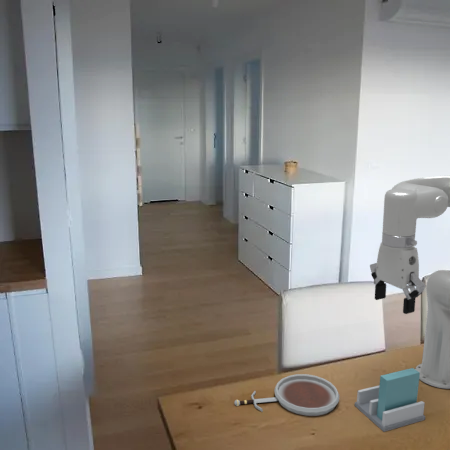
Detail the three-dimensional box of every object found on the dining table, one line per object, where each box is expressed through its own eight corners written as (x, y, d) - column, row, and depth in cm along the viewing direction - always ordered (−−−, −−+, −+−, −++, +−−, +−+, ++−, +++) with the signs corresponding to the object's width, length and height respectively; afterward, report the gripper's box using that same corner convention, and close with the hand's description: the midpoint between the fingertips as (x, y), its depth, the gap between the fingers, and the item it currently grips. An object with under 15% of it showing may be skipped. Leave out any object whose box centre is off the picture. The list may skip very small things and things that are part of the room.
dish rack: (393, 395, 127) (394, 380, 126) (424, 419, 117) (426, 403, 116) (354, 405, 123) (355, 390, 122) (383, 431, 112) (385, 415, 111)
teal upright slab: (408, 407, 120) (412, 367, 118) (415, 412, 118) (419, 372, 116) (376, 416, 117) (380, 375, 114) (383, 421, 115) (387, 380, 112)
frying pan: (228, 380, 130) (325, 369, 135) (228, 389, 131) (324, 379, 136) (241, 418, 114) (350, 404, 119) (241, 429, 115) (350, 415, 119)
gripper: (438, 246, 109) (432, 315, 114) (384, 230, 125) (380, 291, 129) (414, 251, 106) (409, 321, 110) (361, 234, 122) (358, 296, 126)
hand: (393, 305), depth 120 cm, fingers open, 9 cm apart
